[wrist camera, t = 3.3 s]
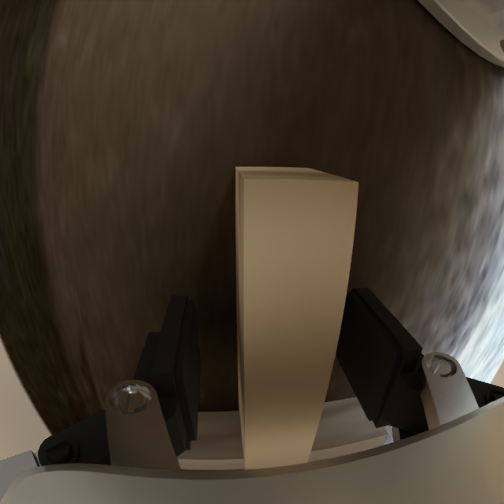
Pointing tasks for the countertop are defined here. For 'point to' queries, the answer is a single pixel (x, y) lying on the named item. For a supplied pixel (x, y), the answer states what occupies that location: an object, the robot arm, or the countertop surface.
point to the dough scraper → (287, 326)
